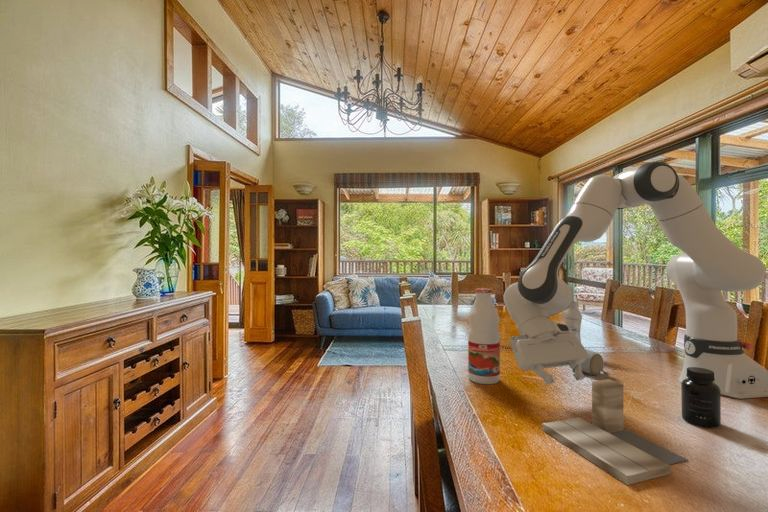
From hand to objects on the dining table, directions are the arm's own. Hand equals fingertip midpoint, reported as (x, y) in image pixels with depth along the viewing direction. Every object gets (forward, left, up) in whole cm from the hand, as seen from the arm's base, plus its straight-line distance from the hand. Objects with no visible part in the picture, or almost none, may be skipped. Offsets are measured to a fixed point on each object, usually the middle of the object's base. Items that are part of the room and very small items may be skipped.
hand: (566, 381), depth 92 cm
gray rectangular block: (-4, +11, -6) cm, 13 cm away
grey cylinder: (-20, -29, -7) cm, 36 cm away
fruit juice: (+16, -20, -7) cm, 26 cm away
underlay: (-6, +16, -7) cm, 18 cm away
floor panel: (+2, +20, -7) cm, 21 cm away
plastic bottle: (-24, -49, -7) cm, 55 cm away
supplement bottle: (-27, +7, -7) cm, 29 cm away
